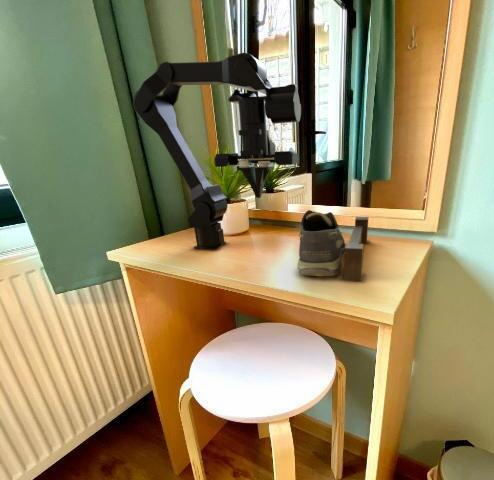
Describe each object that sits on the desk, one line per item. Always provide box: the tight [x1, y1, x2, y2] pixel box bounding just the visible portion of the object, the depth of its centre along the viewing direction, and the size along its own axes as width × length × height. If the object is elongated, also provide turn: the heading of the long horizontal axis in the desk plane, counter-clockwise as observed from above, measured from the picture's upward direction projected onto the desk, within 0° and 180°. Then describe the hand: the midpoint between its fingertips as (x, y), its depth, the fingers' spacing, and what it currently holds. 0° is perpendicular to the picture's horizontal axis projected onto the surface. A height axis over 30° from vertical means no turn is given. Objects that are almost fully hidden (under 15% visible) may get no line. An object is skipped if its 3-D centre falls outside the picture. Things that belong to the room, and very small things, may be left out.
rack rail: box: [343, 216, 369, 282], centre depth 68 cm, size 3×28×6 cm, turn 164°
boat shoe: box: [297, 209, 346, 277], centre depth 69 cm, size 11×29×11 cm, turn 175°
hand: (258, 197), depth 73 cm, fingers closed
